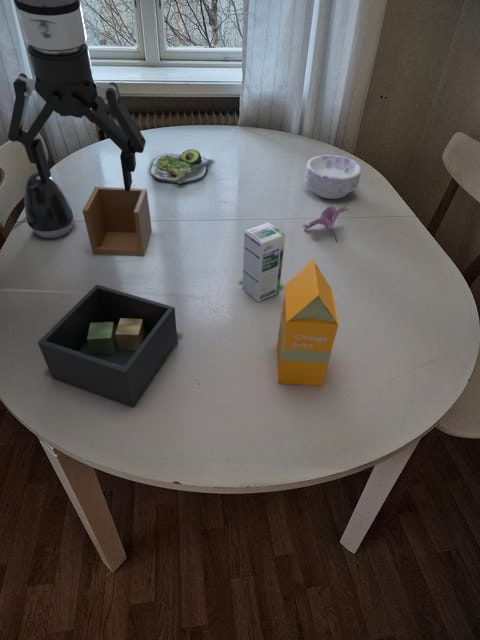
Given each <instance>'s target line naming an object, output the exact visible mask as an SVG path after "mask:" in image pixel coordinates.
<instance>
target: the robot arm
mask: <svg viewBox="0 0 480 640" xmlns="http://www.w3.org/2000/svg"><path fill="white" fill-rule="evenodd" d="M13 2H14V5H15V7H16V12H17V15H18V19H19V23H20V27H21V30H22V34H23V38H24V41H25V42H26V44H28V45H27V47H26V48H27V53H28V56H29V60H30V64H31V68H32V71H33V75H34V76H35V79H33V78H28V76H27V75H26V74H25V73H22V72H21V73H19V74H18V76H17V77H16V78H15V80H14V81H13V83H12V85H13V86H12V87H13V90H14V95H15V99H14V104H13V109H12V113H11V119H10V124H9V129H8V133H7V138H8V140H9V141H10V142H13V143H14V142H18V143H21V144H22V146H24V150H25V153H26V155H27V158H28V161H29V162H30V164H35V166H36V170H37V172H38V173H39V176H40V179H41V182H42V184H47V183H48V180H49V178H50V177H52V173H51V170H50V169H51V168H50V166H49V163H48V160H47V156H46V152H45V149H44V146H43V142H42V139H41V138H36V137H37V136H38V134H39V133H40V131H41V130H42V129H43V127H44V126H45V124H46V123H47V121H48V120H49V118H50V117H51V115H52V114H53V113H54V112H55V113H56V114H59V116H60V117H69V116H71V117H74V118H77V119H82V118H83V117H85V119H87V120H88V121H89V122H90V123H92V124H95V125H96V127H98V129H100V130H101V131H102V133H104V134H105V135H106V136H107V137H108V138H109V139H110V140H111V141H112V142H113V143H114V145H116V147H118V149H120V151H121V152H120V155H119V159H120V165H121V173H122V180H123V186H124V187H123V188H125V191H130V188H132V184H133V176H132V173H134V172H135V170H136V166H137V159H136V153H138V154H142V153H143V152H144V150H145V146H146V142H147V141H146V138H145V137H144V135H143V133H142V132H141V130H140V128H139V126H138V125H137V124H136V122H135V120H134V119H133V117H132V116H131V114H130V112H129V110H128V109H127V107H126V106H125V104H124V102H123V100H122V98H121V94H120V90H119V87H118V84H117V83H116V82H113V81H111V82H109V84H108V85H97V83H96V82H95V80H94V76H93V75H94V74H93V69H92V62H91V57H90V56H91V55H90V52H89V46H88V45H87V43H86V42H87V33H86V28H85V23H84V21H85V20H84V17H83V11H82V5H81V0H13ZM34 91H35V92H36V93H37V94H38V95H39V97H41V99H42V100H43V101H44V102H45V103H44V105H43V106H42V108H41V109H40V111H39V113H38V114H37V116H36V118H34V120H33V122H32V124H31V125H30V126H29V128H28V129H27V131H25V130H23V127H24V122H25V118H26V113H27V108H28V105H29V100H30V97H31V96H32V95H33V93H34ZM98 97H100V98H101V99H102V100H103V102H104V104H106V105H108V107H109V110H110V111H111V113H112V116H114V118H115V119H116V121H117V123H118V124H119V125H118V124H117V123H116V122H115V121H114V120H113V119H112V118H111V117H110V116H109V114H108V113H107V112H105V110H104V108H103V106H102V105H101V104H100V103H99V102H98V100H97V99H98Z"/></svg>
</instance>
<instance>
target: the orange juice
mask: <svg viewBox="0 0 480 640" xmlns="http://www.w3.org/2000/svg"><path fill="white" fill-rule="evenodd" d="M282 299H283V301H282V308H281V313H280V320H279V328H278V329H279V330H278V337H277V343H276V354H278V361H277V384H278V383H282V384H281V385H296V384H300V386H316V385H317V386H319V387H322V386H323V383H324V380H325V377H326V373H327V369H328V365H329V363H330V360H331V355H332V350H333V346H334V343H335V339H336V336H337V332H338V328H339V325H340V324H339V321H338V315H337V310H336V304H335V299H334V292H333V287H331V285H330V284H329V282H328V281H327V279H326V277H325V276H324V275H323V273H322V271H321V270H320V268H319V266H318V265H317V263H316V261H315V258H313V259H312V260H310V262H308V263H307V264H306V265H305V266H304V267H303V268H302V269H300V271H299V272H298V273H296V274H295V276H293V277H292V278H291V279H290V280H289V281H288V282H287V283H286V284H284V293H283V298H282ZM317 386H316V387H317Z"/></svg>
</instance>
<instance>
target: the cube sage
mask: <svg viewBox="0 0 480 640" xmlns="http://www.w3.org/2000/svg"><path fill="white" fill-rule="evenodd" d="M115 333H116V331H115V327H114V322H100V323H90V327H89V332H88V337H87V341H88V344H89V347H90V351H91V354H92V355H96V354H114V353H115V348H116V341H117V340H116V335H115Z"/></svg>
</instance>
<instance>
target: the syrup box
mask: <svg viewBox="0 0 480 640" xmlns="http://www.w3.org/2000/svg"><path fill="white" fill-rule="evenodd" d="M285 241H286V234H285V233H284V232H283V231H282V230H280V229H279V228H278V227H276V226H275V225H273V224H271V223H270V222H267V221H266V222H264V223H263V224H260V225H257V226H254V227H251V228H249V229H248V228H247V229H245V230H244V231H243V255H242V256H243V258H242V259H243V260H242V287H241V288H242V290H244V291H245V293H247V294H248V295H249V296H250V297H251V298H252V299H253V300H254V301H256V302H257V303H260V302H262V301H263V300H266V299H269V298H271V297H273V296H275V295H277V294H279V293H280V287H281V278H282V268H283V261H284V251H285V243H286V242H285Z"/></svg>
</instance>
